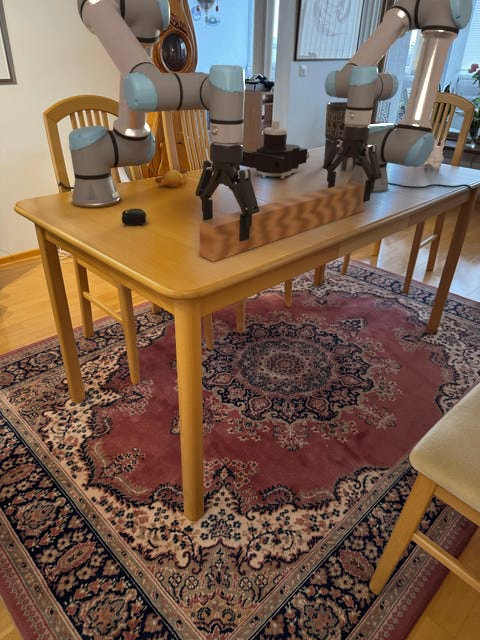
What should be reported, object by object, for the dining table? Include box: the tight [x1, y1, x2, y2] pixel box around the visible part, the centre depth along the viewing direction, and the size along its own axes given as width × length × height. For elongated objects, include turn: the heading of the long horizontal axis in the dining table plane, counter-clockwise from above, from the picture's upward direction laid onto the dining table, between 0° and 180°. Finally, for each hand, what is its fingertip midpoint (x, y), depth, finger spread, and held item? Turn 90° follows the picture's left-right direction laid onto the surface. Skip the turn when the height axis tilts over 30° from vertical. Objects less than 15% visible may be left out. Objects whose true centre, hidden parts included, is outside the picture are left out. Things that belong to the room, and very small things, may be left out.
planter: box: [323, 101, 356, 172], centre depth 204 cm, size 20×20×26 cm
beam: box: [198, 182, 365, 262], centre depth 130 cm, size 65×5×9 cm, turn 134°
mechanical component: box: [240, 120, 311, 179], centre depth 191 cm, size 22×21×30 cm
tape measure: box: [121, 207, 147, 226], centre depth 133 cm, size 7×7×4 cm
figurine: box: [422, 139, 446, 171], centre depth 207 cm, size 8×15×13 cm, turn 146°
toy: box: [154, 169, 189, 188], centre depth 173 cm, size 11×6×15 cm
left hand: (225, 232), depth 114 cm, fingers open, 13 cm apart
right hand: (347, 196), depth 145 cm, fingers open, 13 cm apart
